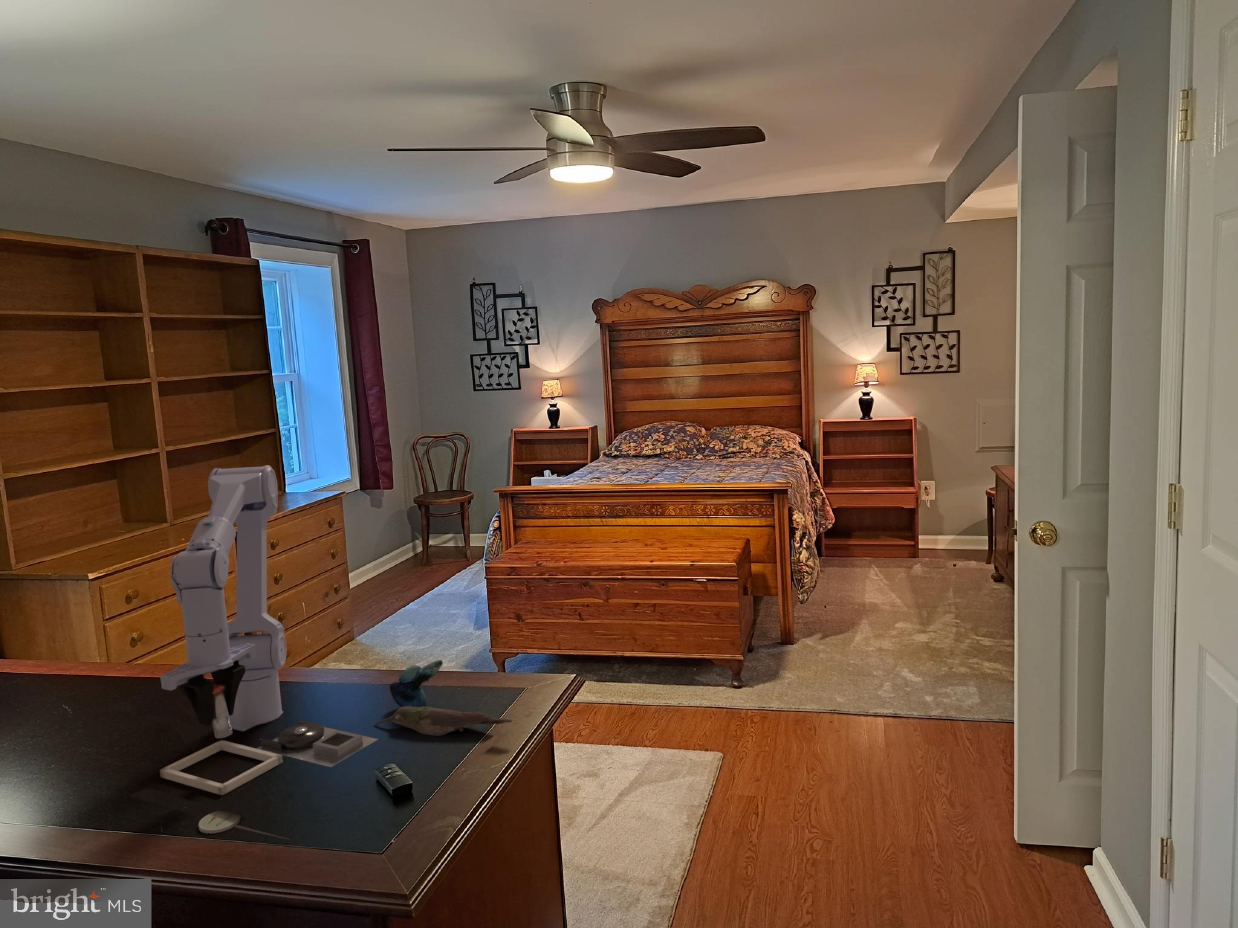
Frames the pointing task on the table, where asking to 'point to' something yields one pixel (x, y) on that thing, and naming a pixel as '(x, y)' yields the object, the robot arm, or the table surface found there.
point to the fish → (413, 684)
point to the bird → (438, 719)
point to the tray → (221, 789)
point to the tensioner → (316, 743)
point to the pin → (220, 711)
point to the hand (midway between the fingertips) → (216, 718)
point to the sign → (224, 823)
